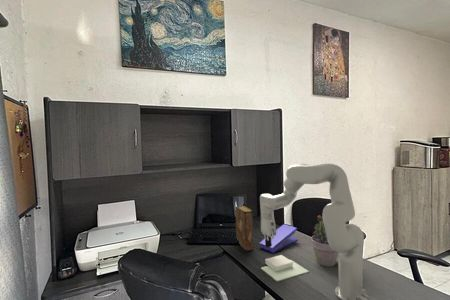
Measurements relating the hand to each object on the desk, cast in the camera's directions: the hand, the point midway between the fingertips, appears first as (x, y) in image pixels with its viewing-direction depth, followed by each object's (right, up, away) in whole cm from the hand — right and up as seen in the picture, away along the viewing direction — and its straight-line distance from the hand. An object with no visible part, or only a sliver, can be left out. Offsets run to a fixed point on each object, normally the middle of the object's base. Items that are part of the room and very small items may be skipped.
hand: (268, 246), depth 151 cm
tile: (+2, -6, -5) cm, 8 cm away
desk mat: (+6, -8, -13) cm, 17 cm away
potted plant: (+32, -7, -7) cm, 33 cm away
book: (-12, -7, +21) cm, 25 cm away
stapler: (+11, -7, +21) cm, 24 cm away
